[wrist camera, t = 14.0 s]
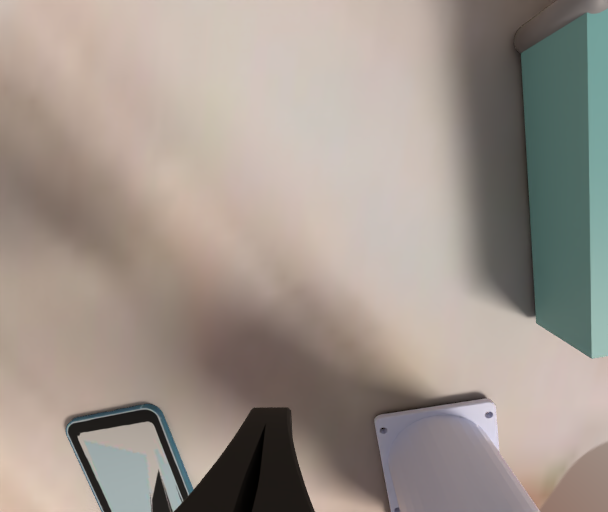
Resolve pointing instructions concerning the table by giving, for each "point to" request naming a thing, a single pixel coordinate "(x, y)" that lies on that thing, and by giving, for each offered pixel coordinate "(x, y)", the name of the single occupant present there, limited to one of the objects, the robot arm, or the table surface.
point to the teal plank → (568, 168)
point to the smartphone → (130, 460)
